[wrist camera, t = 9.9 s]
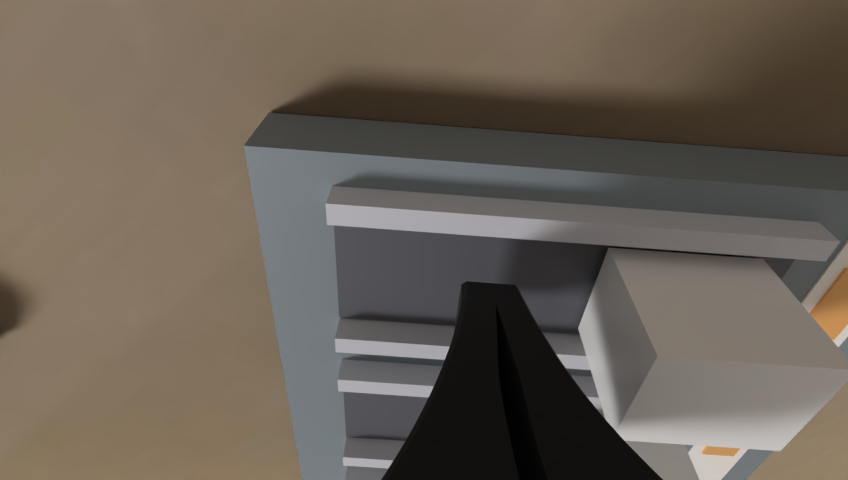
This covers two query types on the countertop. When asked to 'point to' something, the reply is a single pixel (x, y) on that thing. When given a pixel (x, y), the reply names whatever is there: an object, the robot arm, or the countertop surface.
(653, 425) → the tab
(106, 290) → the countertop surface
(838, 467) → the countertop surface
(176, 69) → the countertop surface
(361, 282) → the switch panel
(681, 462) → the tab middle
